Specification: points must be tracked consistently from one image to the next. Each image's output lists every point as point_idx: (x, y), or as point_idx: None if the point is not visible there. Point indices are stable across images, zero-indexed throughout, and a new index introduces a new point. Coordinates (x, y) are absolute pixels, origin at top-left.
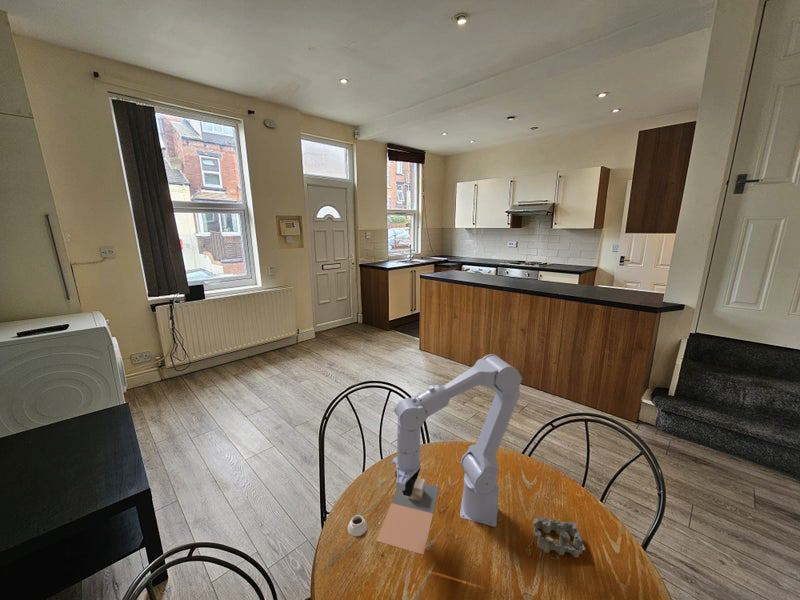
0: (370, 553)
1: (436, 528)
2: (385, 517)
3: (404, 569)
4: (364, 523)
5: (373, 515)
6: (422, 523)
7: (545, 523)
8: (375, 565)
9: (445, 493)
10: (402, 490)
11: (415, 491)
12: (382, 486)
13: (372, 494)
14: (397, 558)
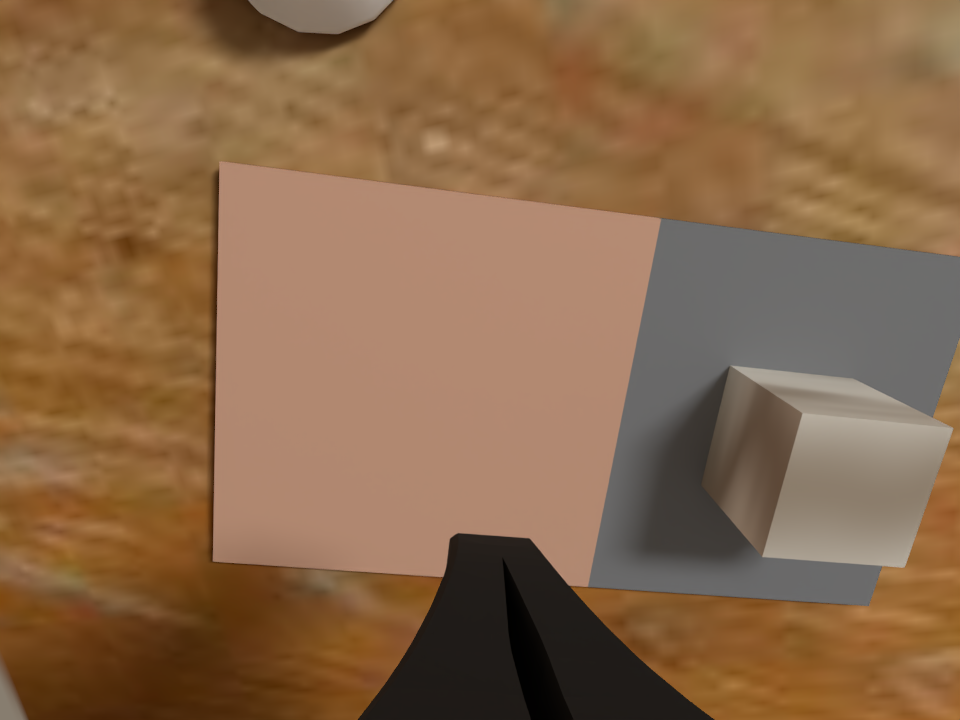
0: (108, 135)
1: None
2: (485, 196)
3: (74, 439)
4: None
5: (505, 61)
6: (480, 521)
7: None
8: (20, 207)
9: (807, 642)
10: (446, 571)
11: (757, 475)
12: (882, 72)
13: None
14: (141, 373)
